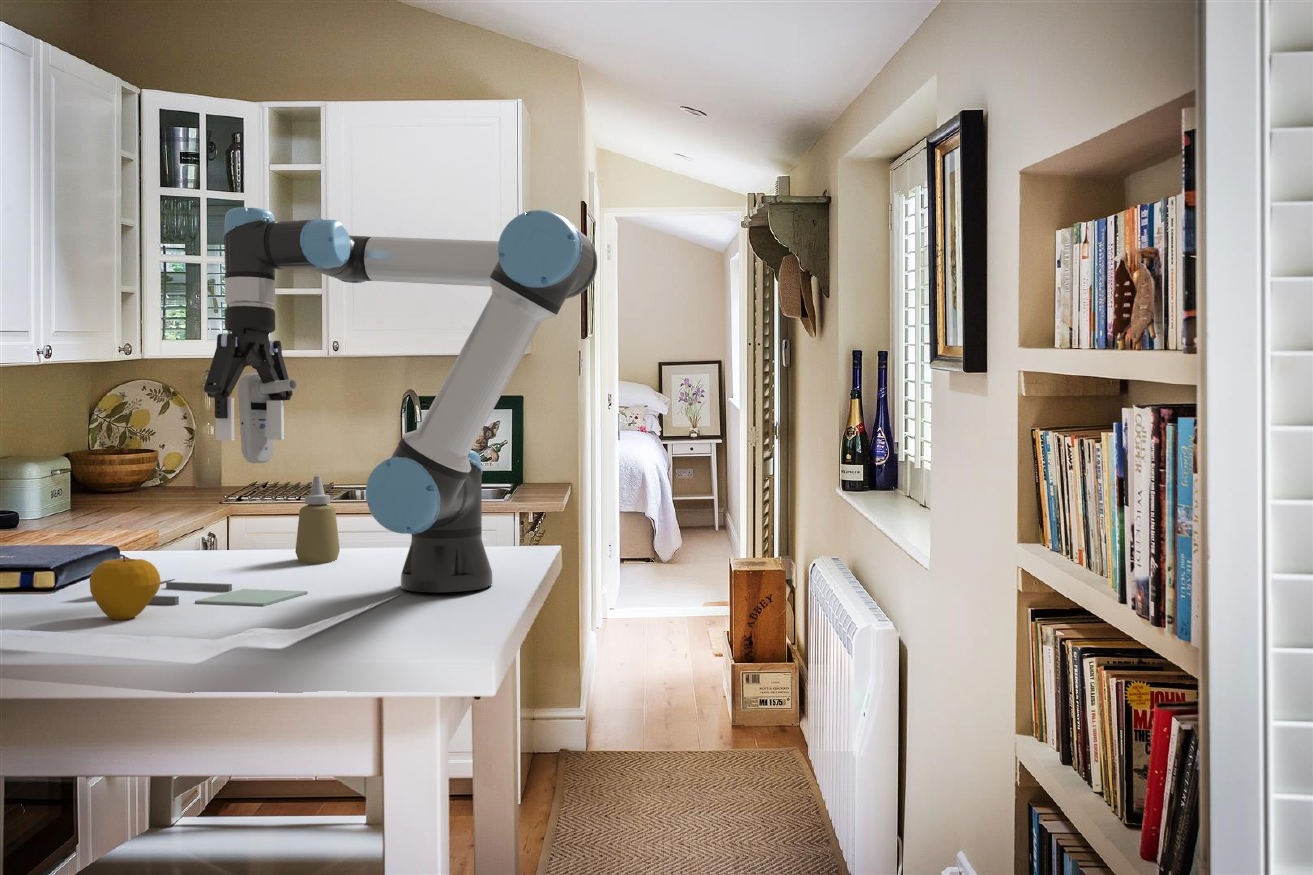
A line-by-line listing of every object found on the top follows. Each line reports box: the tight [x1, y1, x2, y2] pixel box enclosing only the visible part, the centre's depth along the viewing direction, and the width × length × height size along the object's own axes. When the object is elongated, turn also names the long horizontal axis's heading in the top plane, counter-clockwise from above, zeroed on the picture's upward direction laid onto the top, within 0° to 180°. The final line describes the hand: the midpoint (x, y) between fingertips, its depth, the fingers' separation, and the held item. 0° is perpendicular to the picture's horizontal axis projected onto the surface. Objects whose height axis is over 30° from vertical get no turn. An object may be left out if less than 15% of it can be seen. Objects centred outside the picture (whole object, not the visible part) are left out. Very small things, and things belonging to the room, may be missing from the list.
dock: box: [92, 578, 233, 606], centre depth 167 cm, size 17×19×4 cm
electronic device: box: [237, 372, 298, 465], centre depth 168 cm, size 5×10×15 cm, turn 66°
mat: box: [194, 588, 309, 607], centre depth 161 cm, size 12×12×1 cm
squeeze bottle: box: [294, 475, 341, 565], centre depth 194 cm, size 8×8×18 cm
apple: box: [89, 555, 162, 621], centre depth 145 cm, size 9×9×9 cm
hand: (251, 440), depth 162 cm, fingers open, 13 cm apart
